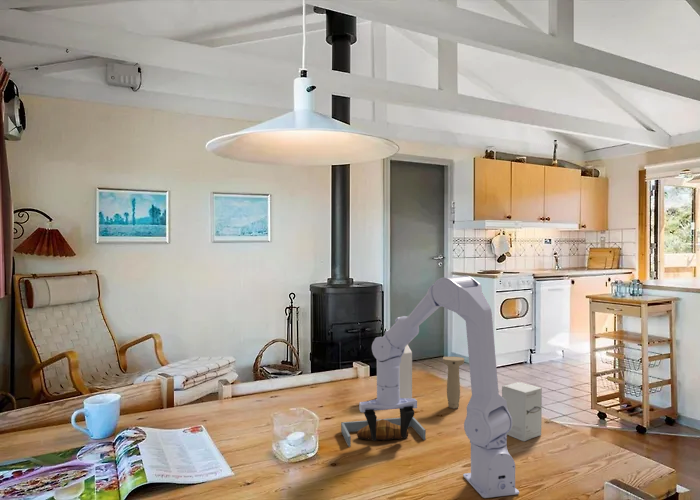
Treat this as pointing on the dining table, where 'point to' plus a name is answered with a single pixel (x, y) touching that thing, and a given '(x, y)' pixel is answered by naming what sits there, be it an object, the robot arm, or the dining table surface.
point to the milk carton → (406, 374)
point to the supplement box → (524, 409)
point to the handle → (453, 380)
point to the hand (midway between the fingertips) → (388, 438)
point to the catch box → (358, 425)
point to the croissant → (381, 431)
